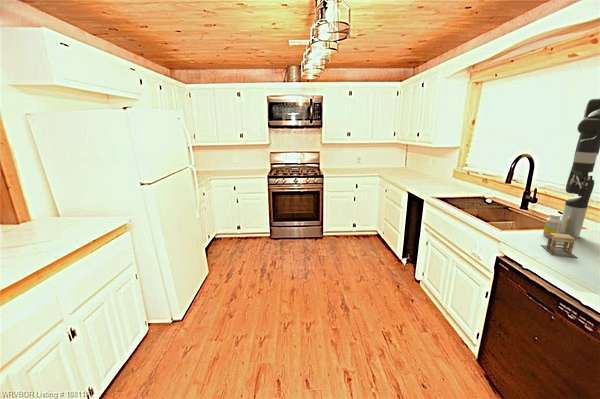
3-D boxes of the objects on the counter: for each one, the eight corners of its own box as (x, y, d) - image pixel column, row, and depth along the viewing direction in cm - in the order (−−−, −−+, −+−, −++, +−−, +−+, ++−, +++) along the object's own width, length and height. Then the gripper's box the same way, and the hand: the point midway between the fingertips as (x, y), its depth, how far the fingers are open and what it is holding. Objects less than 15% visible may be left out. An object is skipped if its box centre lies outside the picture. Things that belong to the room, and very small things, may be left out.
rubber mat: (540, 245, 152) (541, 244, 152) (564, 248, 149) (564, 247, 149) (551, 255, 141) (552, 254, 141) (577, 258, 138) (577, 257, 138)
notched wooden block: (546, 247, 149) (549, 232, 147) (565, 249, 146) (569, 234, 144) (551, 251, 144) (554, 236, 142) (571, 254, 141) (575, 238, 139)
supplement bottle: (550, 233, 168) (555, 212, 165) (561, 238, 162) (566, 216, 159) (539, 233, 168) (544, 212, 165) (549, 238, 162) (554, 216, 159)
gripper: (603, 163, 132) (594, 198, 136) (585, 160, 145) (577, 191, 149) (583, 163, 134) (574, 197, 138) (567, 159, 147) (559, 190, 151)
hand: (575, 194), depth 144 cm, fingers open, 8 cm apart
